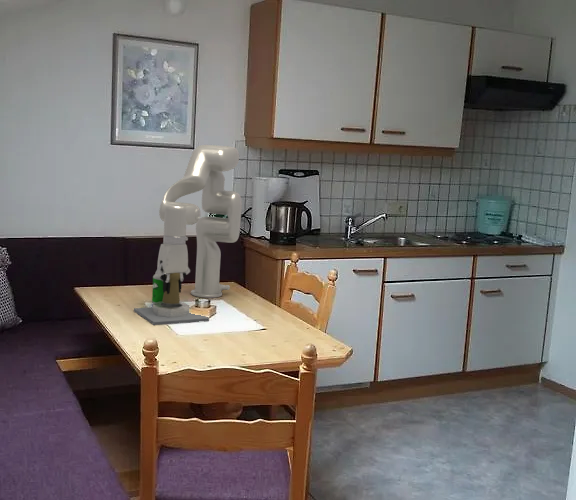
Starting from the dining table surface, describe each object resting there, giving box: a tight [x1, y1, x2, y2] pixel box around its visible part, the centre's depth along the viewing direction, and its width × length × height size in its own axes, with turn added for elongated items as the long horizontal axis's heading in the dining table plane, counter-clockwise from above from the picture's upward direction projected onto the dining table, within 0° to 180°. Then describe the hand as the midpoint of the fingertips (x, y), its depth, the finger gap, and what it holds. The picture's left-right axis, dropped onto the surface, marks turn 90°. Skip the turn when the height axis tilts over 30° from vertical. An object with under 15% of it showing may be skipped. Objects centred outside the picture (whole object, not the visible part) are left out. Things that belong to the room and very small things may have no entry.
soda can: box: [151, 272, 164, 305], centre depth 263 cm, size 8×8×12 cm
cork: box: [162, 273, 181, 304], centre depth 247 cm, size 6×6×11 cm
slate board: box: [133, 306, 210, 326], centre depth 248 cm, size 20×20×1 cm
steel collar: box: [152, 301, 190, 318], centre depth 248 cm, size 12×12×3 cm
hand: (172, 292), depth 247 cm, fingers closed on cork, 3 cm apart
